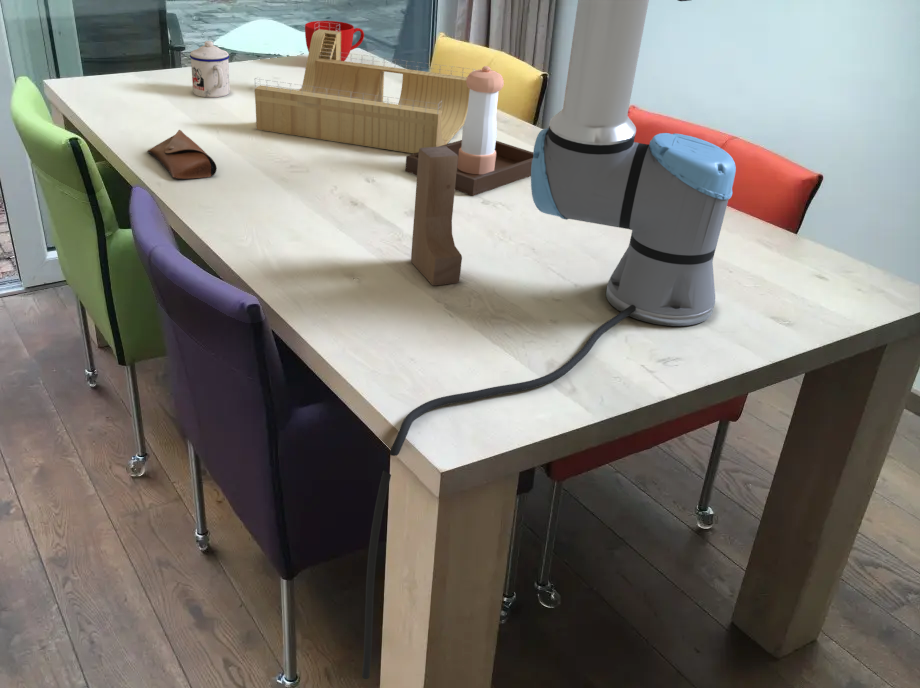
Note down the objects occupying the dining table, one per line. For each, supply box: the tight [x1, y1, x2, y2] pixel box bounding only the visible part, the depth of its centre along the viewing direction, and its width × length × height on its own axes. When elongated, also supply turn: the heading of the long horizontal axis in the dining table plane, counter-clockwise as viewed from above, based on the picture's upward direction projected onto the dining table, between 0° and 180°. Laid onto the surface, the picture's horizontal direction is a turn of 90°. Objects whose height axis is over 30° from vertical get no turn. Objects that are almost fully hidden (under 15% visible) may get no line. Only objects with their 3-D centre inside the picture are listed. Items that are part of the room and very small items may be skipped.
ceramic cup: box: [304, 20, 365, 61], centre depth 243 cm, size 13×17×10 cm
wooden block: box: [410, 146, 463, 286], centre depth 132 cm, size 9×4×18 cm, turn 20°
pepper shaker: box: [457, 65, 505, 174], centre depth 172 cm, size 7×7×19 cm
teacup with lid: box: [189, 40, 231, 99], centre depth 211 cm, size 12×9×12 cm
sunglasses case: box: [147, 129, 217, 180], centre depth 172 cm, size 18×7×7 cm
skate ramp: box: [254, 22, 476, 154], centre depth 198 cm, size 40×35×16 cm
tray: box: [404, 139, 533, 197], centre depth 176 cm, size 22×17×3 cm
